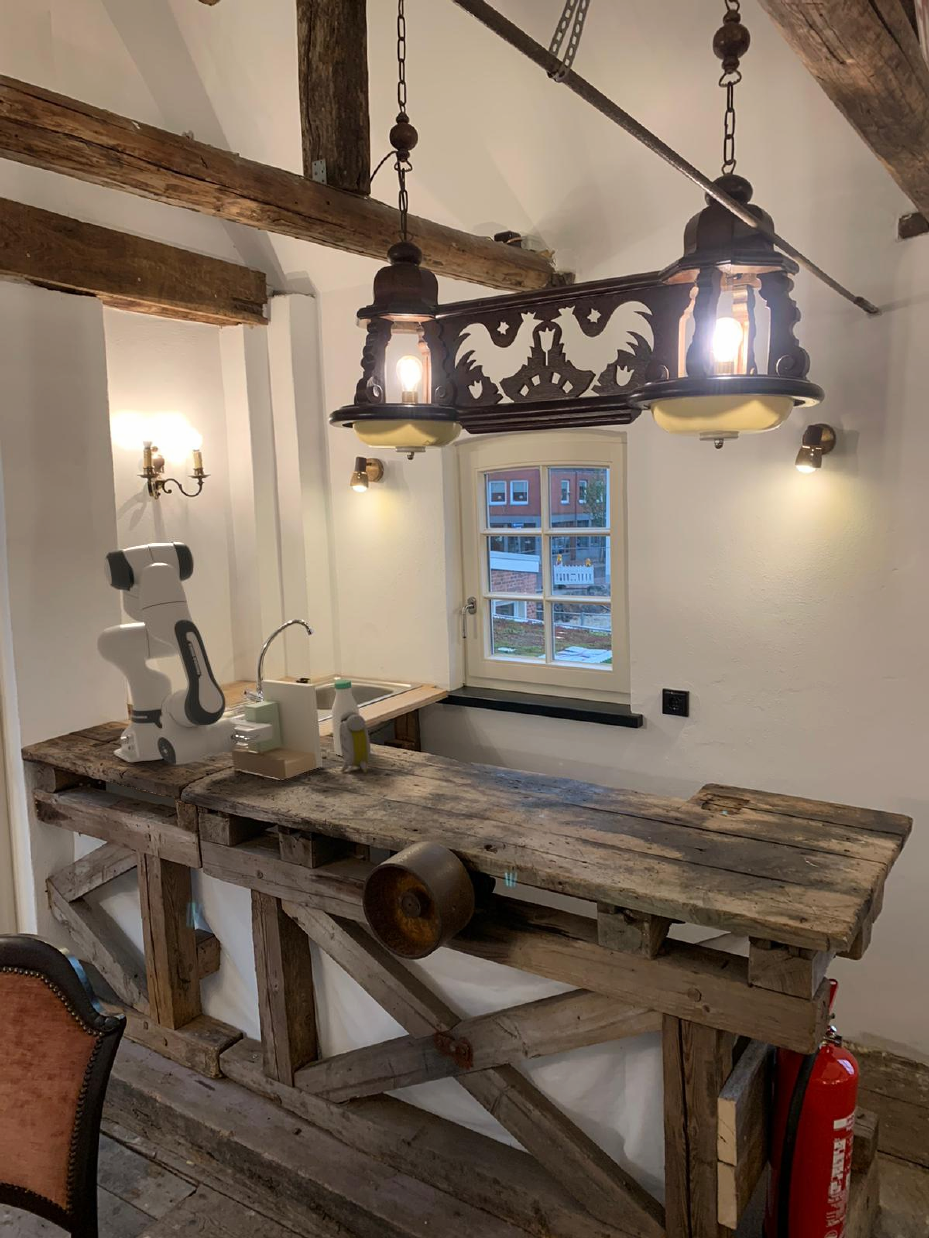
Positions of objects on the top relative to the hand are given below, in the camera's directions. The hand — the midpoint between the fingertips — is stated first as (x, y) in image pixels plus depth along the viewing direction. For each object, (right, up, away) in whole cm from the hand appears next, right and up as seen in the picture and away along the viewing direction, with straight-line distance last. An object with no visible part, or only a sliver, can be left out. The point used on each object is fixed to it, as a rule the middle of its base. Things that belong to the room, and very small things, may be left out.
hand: (265, 723), depth 231 cm
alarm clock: (+25, -11, -9) cm, 29 cm away
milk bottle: (+21, -9, +8) cm, 25 cm away
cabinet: (0, -7, 0) cm, 7 cm away
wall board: (+4, -12, -3) cm, 13 cm away
